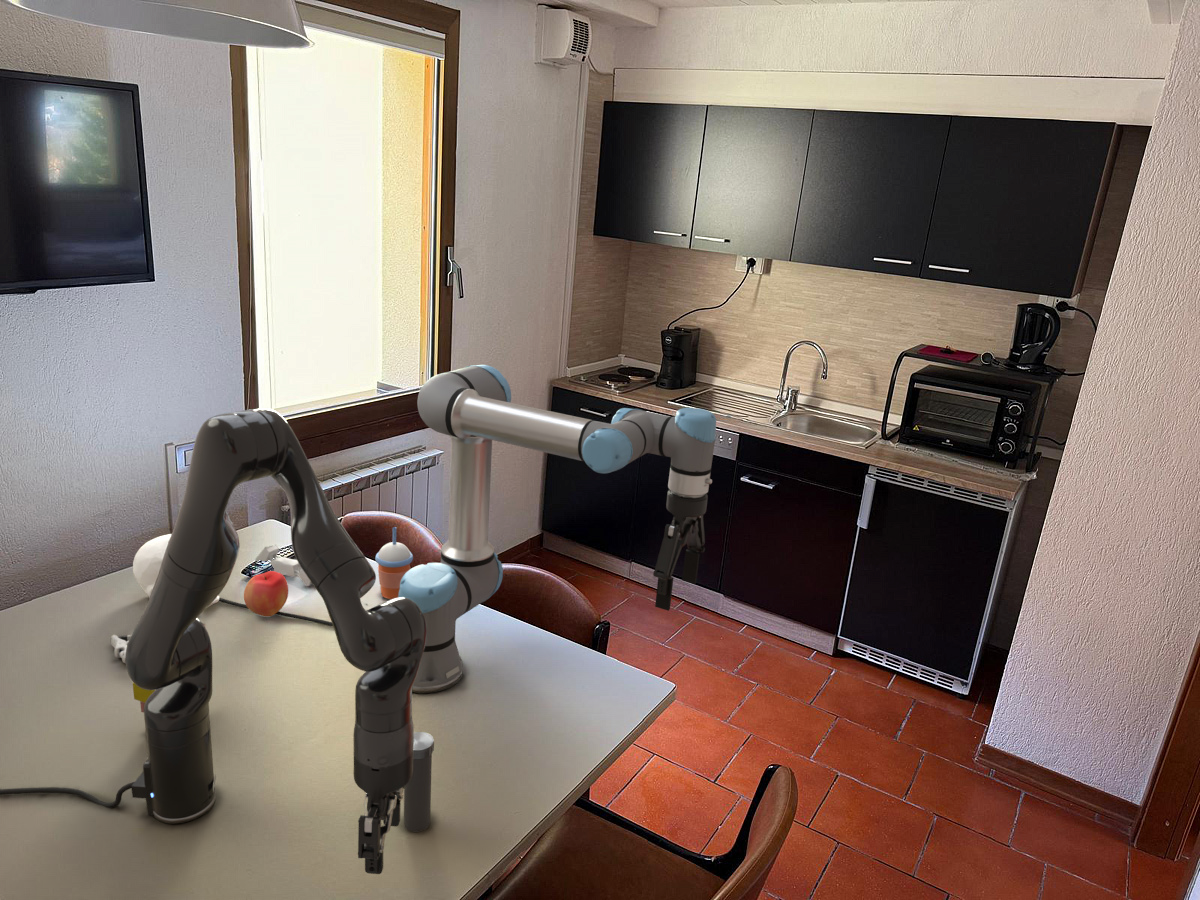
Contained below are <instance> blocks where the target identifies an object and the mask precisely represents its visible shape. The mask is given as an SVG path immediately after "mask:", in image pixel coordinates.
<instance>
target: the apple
mask: <svg viewBox="0 0 1200 900" xmlns="http://www.w3.org/2000/svg"><path fill="white" fill-rule="evenodd" d="M288 597H289V584H288V581H287V579H286V577H285V575H282V574H281V573H278V572H275V571H268V570H267V571H266V572H264V573H259V574H255V575H254V576H253V577H251V578H250V579H249V580H248V582H247V583H246V585H245V587H244V590H243V601H244V604H245V605H246V606H247V607H248V609H247V610H249V611H250V612H252V613H253V614H255V615H257V616H261V617H265V618H269V617H273V616H275V614H276V613H277V612H281V610H282V609H283V607H284V606H285V605H286V603H287V600H288Z"/></svg>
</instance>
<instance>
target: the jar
mask: <svg viewBox="0 0 1200 900" xmlns="http://www.w3.org/2000/svg"><path fill="white" fill-rule="evenodd" d="M432 759H433V753H432V754H431V755H430V756H428V757H426V758H423V759H413V774H412V777H411V779H410V781H409V782H408V783H407V784H406V786H405V788H404V790H403V826H404V828H405V829H406V830H407V831H409V832H412V833H417V832H423V831H425V830H426V829H427V828H429V826H430V825H431V812H432V811H431V809H432V808H431V807H432V805H431V804H432V769H433V768H432V767H433V765H432V764H433V761H432Z"/></svg>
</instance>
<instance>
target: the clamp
mask: <svg viewBox="0 0 1200 900" xmlns="http://www.w3.org/2000/svg"><path fill="white" fill-rule="evenodd" d="M280 549H281V547H279V546H278V545H277V544H272V545H266V546H264V547H263V549H262V550H261V551H260V552H259V554H258V555H257V556H256V557H255V559H254V562H255V563H256V561H259V560H262V561H268V560H271V562H270V563H269V564H271V565H272V566H273V568H274V571H275V572H278V573H281V574H282V575H283V576H288V577H292V578H296V577H298V578H299V579H300V580H301V582H303V584H304V585H305V587H309V586H312V585H313V584H312V583H311V581H310V580H309V578H308V577H307V575H306V574H305V573H304V571H303V570H302V568H301V567H300V565H299V563H298V561H297V559H292V558H289V557H285V556H278V553H279V551H280ZM273 558H274V559H273ZM272 559H273V560H272ZM270 571H271V570H270Z"/></svg>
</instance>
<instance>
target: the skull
mask: <svg viewBox="0 0 1200 900" xmlns="http://www.w3.org/2000/svg"><path fill="white" fill-rule="evenodd" d="M171 534H172V533H168V534H163V535H160V536H157V537H154V538H152V539H150V540H148V541H146V542H145V543H144V544H143V545H142V546H141V547H140V548H139V549H138V550H137V552H136V553H135V554H134V558H133V561H132V571H133V572H132V573H133V577H134V579H135V581H136V582H137V583H138V585H139V586H140V587H141V589H142V590H143V591H144V592H145V594H146V595H147V596H148V598H150V595H151V593H152V590H153V587H154V585H155V582H156V579H157V577H158V574H159V571H160V567H161V563H162V560H163V557H164V554H165V551H166V548H167V545H168V542H169V539H170V537H171ZM219 597H220V595H218V596H217V597H216V598H215V600H214V601H213V602H212V603H211V604H210V605H209V606H208V607H210V606H212V605H215V604H217V603H218V602H220V601H219Z"/></svg>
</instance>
